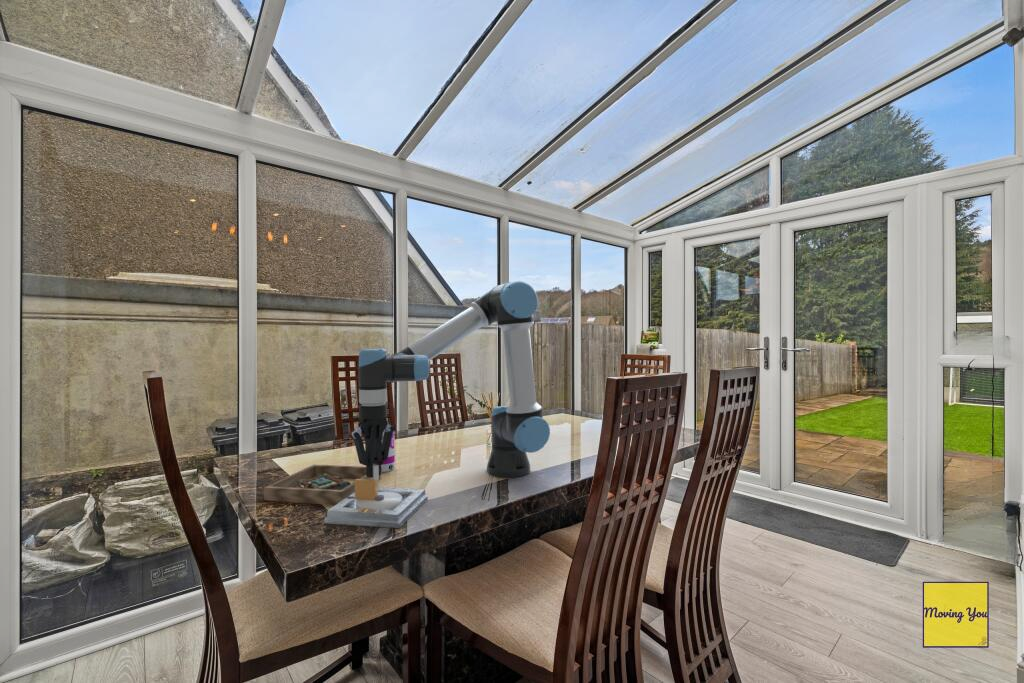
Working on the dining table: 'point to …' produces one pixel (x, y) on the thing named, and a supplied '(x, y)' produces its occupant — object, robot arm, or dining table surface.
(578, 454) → the dining table surface
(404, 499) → the dial panel
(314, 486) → the decorative book
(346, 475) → the book tray
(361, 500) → the dial
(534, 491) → the dining table surface
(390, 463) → the supplement can
